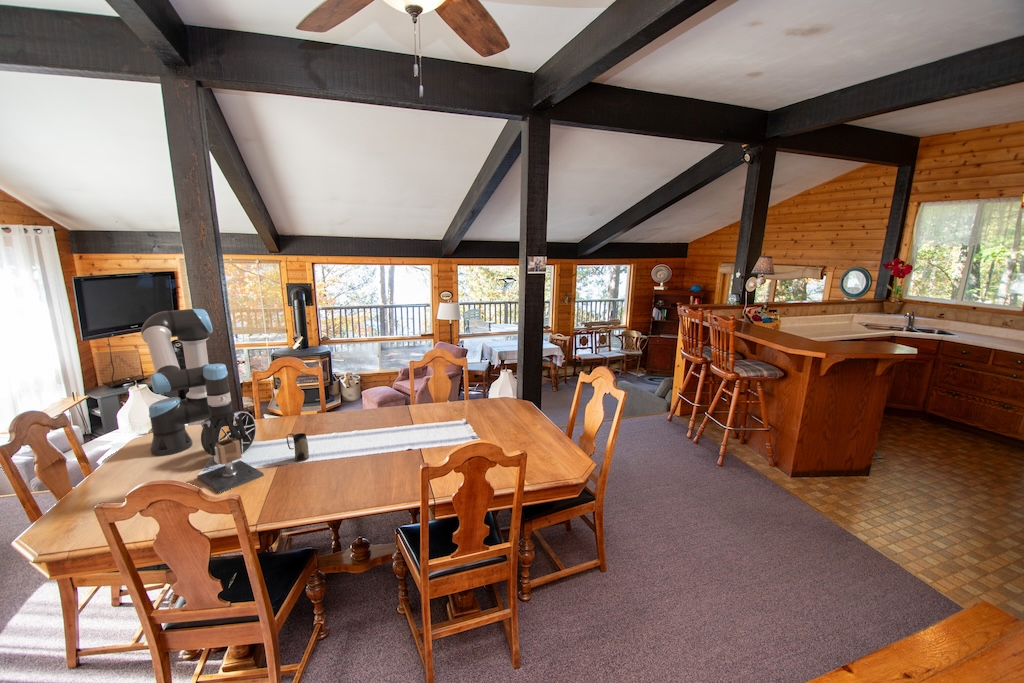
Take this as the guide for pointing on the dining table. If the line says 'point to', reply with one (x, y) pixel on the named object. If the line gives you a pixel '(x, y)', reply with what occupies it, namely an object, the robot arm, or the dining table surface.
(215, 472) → the shaft stand
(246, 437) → the wheel rim
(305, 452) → the mug
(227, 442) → the hollow wooden cube
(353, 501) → the dining table surface
